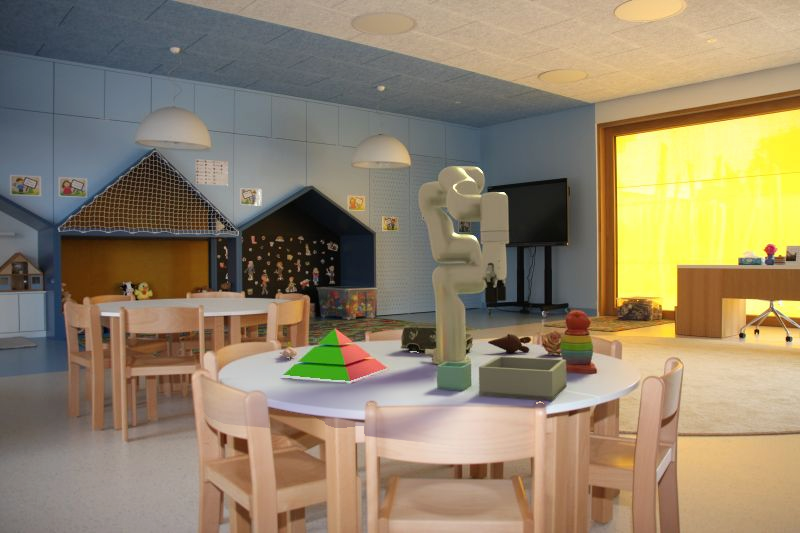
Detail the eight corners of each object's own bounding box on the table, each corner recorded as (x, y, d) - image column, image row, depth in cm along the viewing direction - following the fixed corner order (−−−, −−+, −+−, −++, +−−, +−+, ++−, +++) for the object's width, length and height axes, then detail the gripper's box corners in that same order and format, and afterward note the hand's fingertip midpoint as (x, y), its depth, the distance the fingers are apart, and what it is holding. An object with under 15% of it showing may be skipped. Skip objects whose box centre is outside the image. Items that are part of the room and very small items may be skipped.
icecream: (491, 336, 223) (534, 339, 224) (487, 329, 230) (529, 331, 231) (488, 355, 225) (531, 358, 226) (485, 347, 232) (526, 349, 233)
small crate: (437, 389, 169) (436, 366, 169) (446, 383, 175) (446, 361, 175) (462, 390, 166) (462, 367, 166) (471, 385, 172) (471, 363, 172)
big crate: (479, 395, 160) (478, 367, 160) (499, 381, 177) (498, 356, 177) (552, 401, 153) (552, 371, 153) (566, 386, 169) (566, 359, 169)
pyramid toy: (322, 366, 210) (321, 322, 210) (392, 371, 199) (391, 324, 199) (276, 380, 188) (275, 331, 187) (351, 387, 177) (350, 334, 177)
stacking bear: (597, 373, 186) (597, 311, 186) (561, 373, 188) (560, 311, 188) (594, 367, 197) (593, 308, 196) (560, 366, 199) (559, 308, 198)
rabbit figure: (278, 359, 231) (282, 359, 216) (278, 342, 231) (281, 341, 217) (296, 358, 232) (301, 358, 218) (295, 341, 233) (300, 340, 219)
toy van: (409, 348, 243) (409, 322, 242) (474, 351, 234) (474, 323, 234) (399, 353, 233) (399, 325, 232) (466, 355, 224) (466, 326, 224)
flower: (536, 347, 228) (536, 330, 223) (561, 341, 228) (562, 324, 224) (547, 366, 220) (547, 349, 215) (573, 360, 221) (573, 343, 216)
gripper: (489, 239, 185) (490, 299, 185) (472, 238, 169) (473, 303, 169) (515, 238, 182) (516, 299, 182) (501, 237, 166) (502, 304, 166)
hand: (495, 301), depth 175 cm, fingers open, 9 cm apart
